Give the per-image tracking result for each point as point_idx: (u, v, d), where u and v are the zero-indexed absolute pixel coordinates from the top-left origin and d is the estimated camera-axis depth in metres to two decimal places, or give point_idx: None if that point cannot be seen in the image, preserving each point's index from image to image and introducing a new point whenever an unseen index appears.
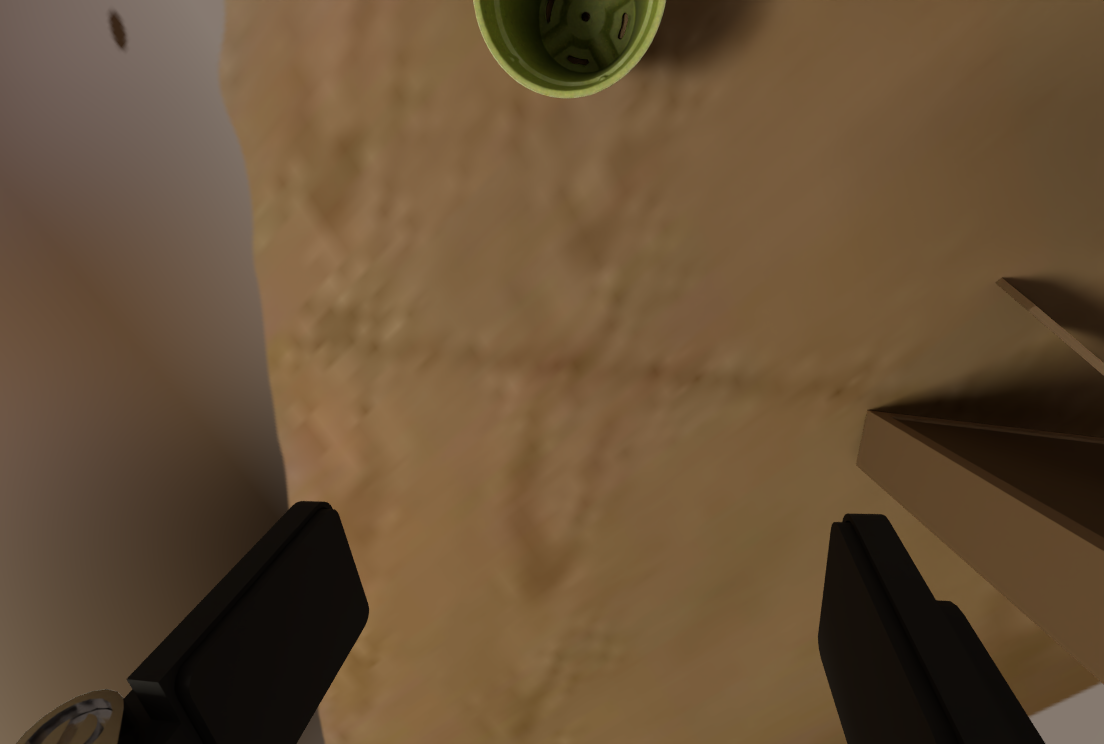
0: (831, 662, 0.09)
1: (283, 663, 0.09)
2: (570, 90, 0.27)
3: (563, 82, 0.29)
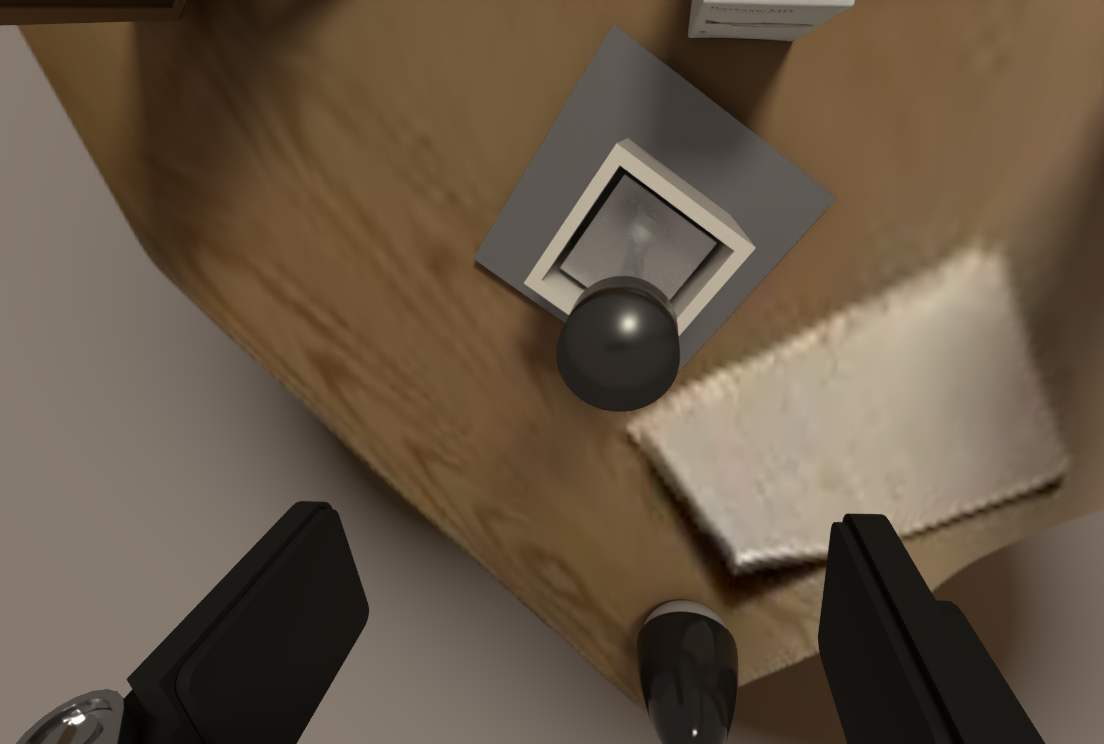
0: (831, 662, 0.09)
1: (283, 663, 0.09)
2: None
3: None
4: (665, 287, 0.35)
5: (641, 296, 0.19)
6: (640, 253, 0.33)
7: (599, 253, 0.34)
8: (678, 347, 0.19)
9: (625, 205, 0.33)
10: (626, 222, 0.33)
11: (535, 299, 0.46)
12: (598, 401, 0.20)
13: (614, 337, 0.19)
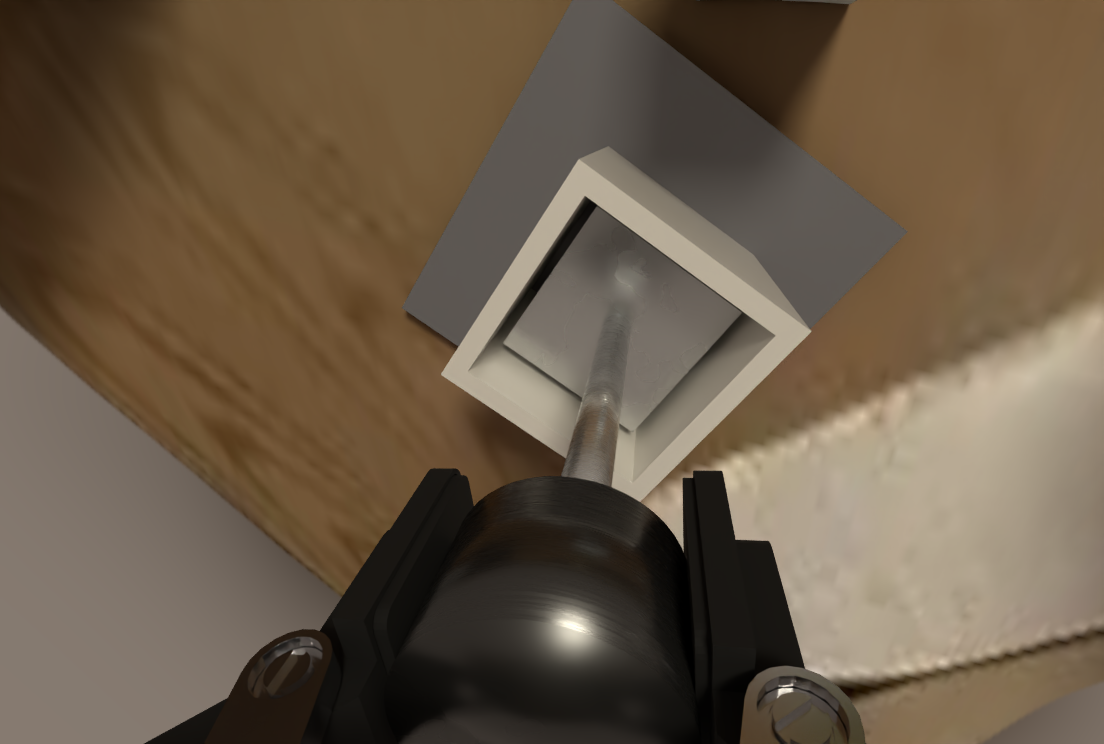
0: None
1: None
2: None
3: None
4: (662, 375, 0.23)
5: (596, 595, 0.07)
6: (622, 330, 0.21)
7: (561, 323, 0.23)
8: (698, 740, 0.07)
9: (599, 253, 0.21)
10: (601, 279, 0.21)
11: None
12: None
13: (524, 699, 0.07)
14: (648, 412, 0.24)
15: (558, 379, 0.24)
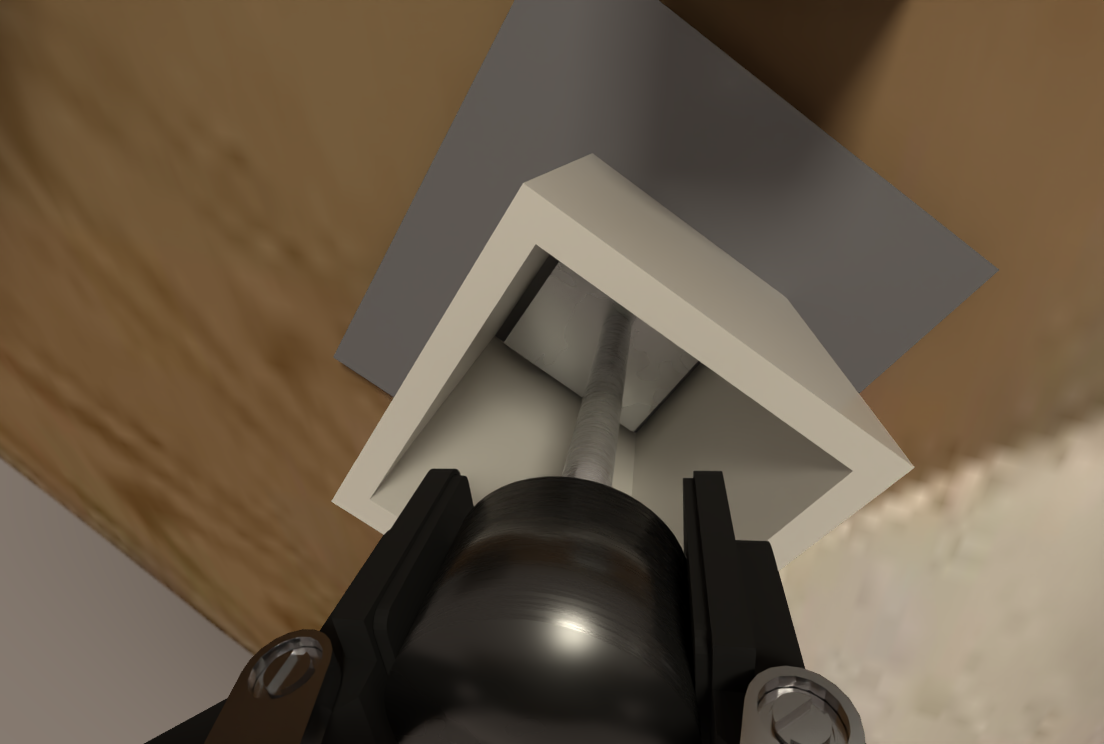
0: None
1: None
2: None
3: None
4: (663, 375, 0.23)
5: (596, 594, 0.07)
6: (622, 330, 0.21)
7: (561, 323, 0.23)
8: (698, 740, 0.07)
9: None
10: None
11: None
12: None
13: (525, 699, 0.07)
14: (648, 412, 0.24)
15: (558, 379, 0.24)
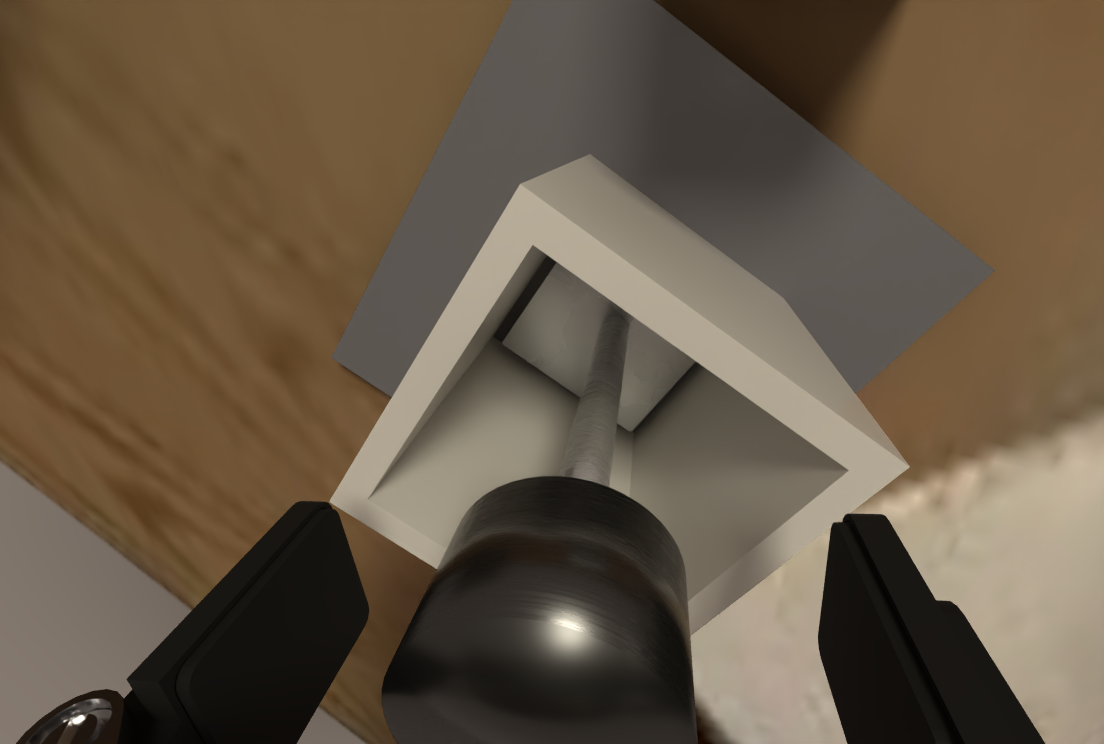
0: (831, 662, 0.09)
1: (283, 663, 0.09)
2: None
3: None
4: (660, 375, 0.23)
5: (592, 594, 0.07)
6: (620, 330, 0.21)
7: (559, 324, 0.23)
8: (694, 737, 0.07)
9: None
10: None
11: None
12: None
13: (522, 698, 0.07)
14: (646, 412, 0.24)
15: (556, 379, 0.24)
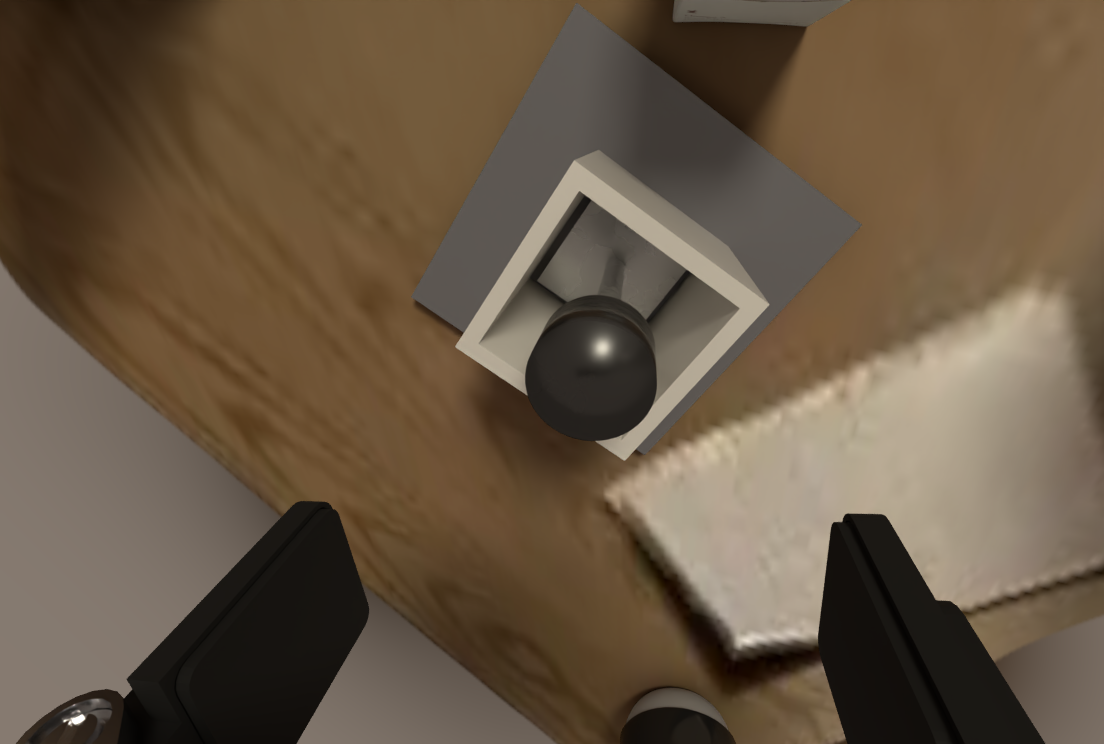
0: (831, 662, 0.09)
1: (283, 663, 0.09)
2: None
3: None
4: (646, 300, 0.33)
5: (614, 319, 0.18)
6: (619, 266, 0.31)
7: (577, 265, 0.33)
8: (655, 373, 0.17)
9: (603, 216, 0.32)
10: (605, 233, 0.32)
11: None
12: (570, 429, 0.19)
13: (586, 362, 0.18)
14: None
15: None
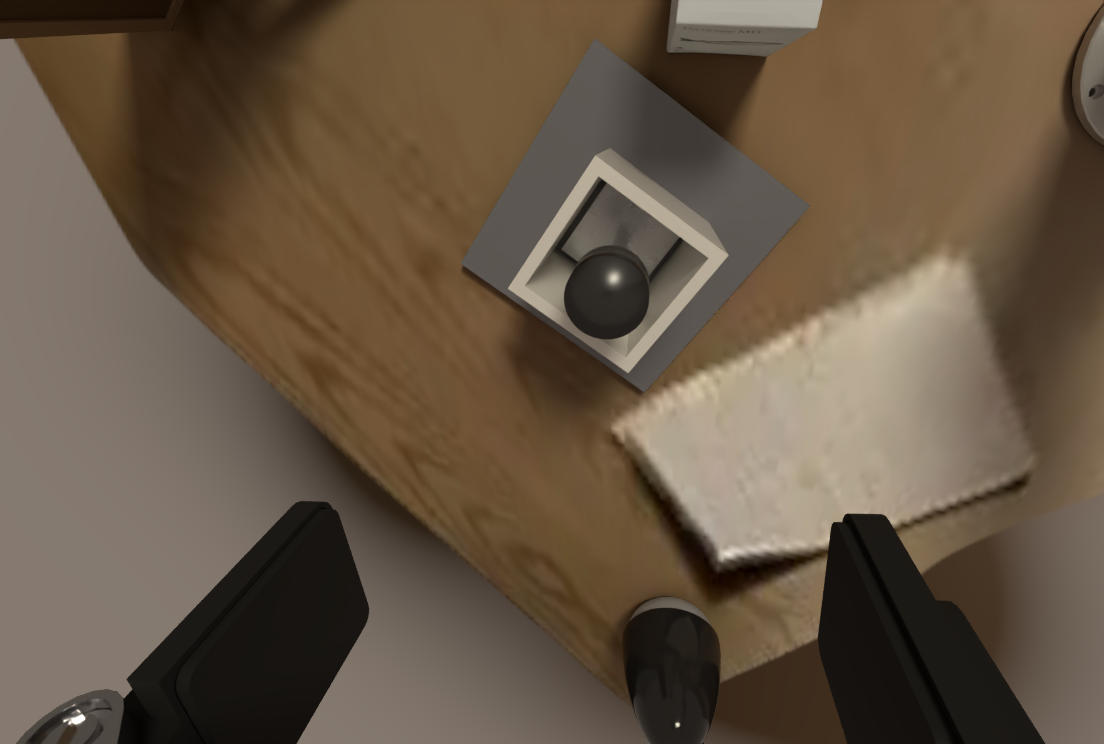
0: (831, 662, 0.09)
1: (283, 663, 0.09)
2: None
3: None
4: (646, 265, 0.43)
5: (622, 257, 0.27)
6: (625, 236, 0.41)
7: (593, 237, 0.43)
8: (647, 291, 0.27)
9: (613, 198, 0.42)
10: (614, 212, 0.42)
11: (521, 303, 0.48)
12: (592, 332, 0.29)
13: (603, 284, 0.28)
14: None
15: None
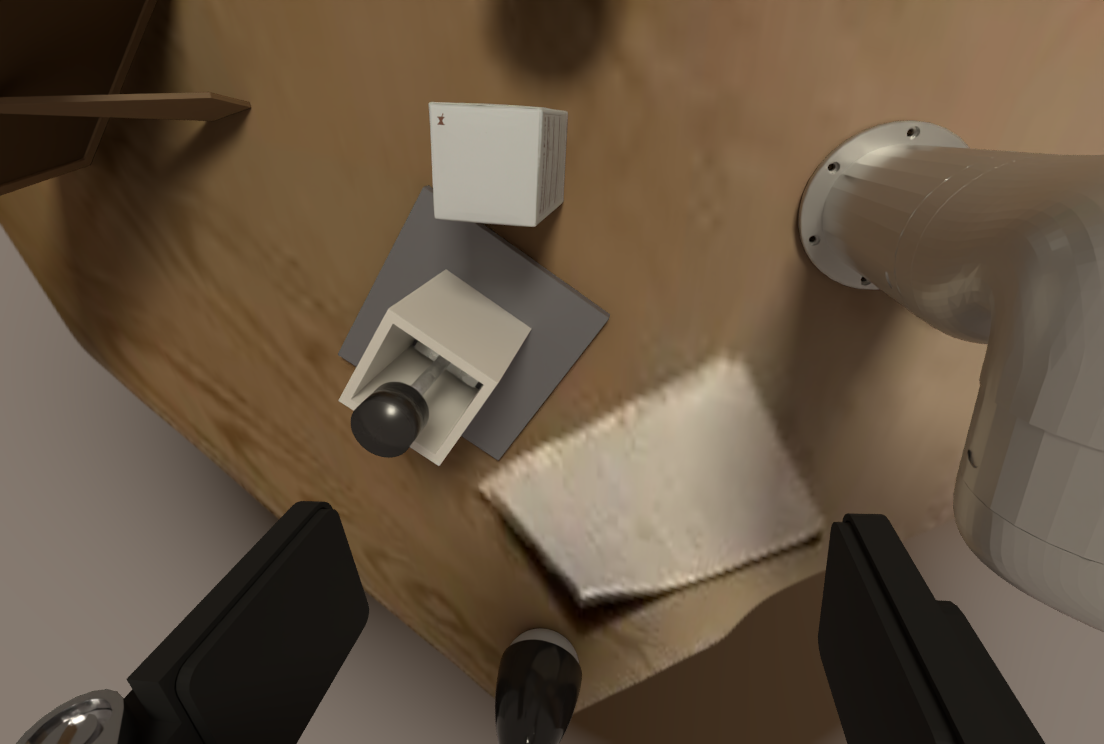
0: (831, 662, 0.09)
1: (283, 663, 0.09)
2: None
3: None
4: None
5: (391, 398, 0.36)
6: None
7: None
8: (409, 425, 0.36)
9: None
10: None
11: None
12: (376, 451, 0.37)
13: (377, 419, 0.36)
14: None
15: None
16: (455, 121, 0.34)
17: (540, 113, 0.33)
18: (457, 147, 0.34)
